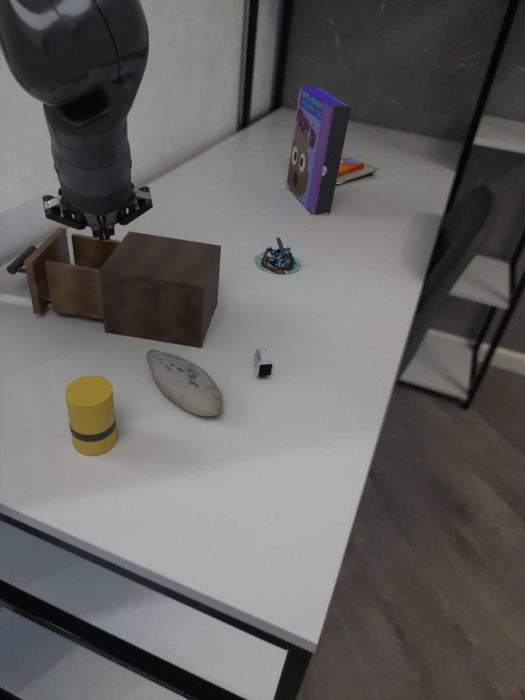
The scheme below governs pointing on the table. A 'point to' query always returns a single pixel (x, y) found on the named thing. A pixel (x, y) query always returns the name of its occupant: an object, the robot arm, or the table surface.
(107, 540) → the table surface
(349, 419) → the table surface
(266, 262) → the dish
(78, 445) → the tape canister
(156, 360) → the decorative stone
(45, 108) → the robot arm
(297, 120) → the cereal box
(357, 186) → the table surface
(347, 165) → the wooden puzzle
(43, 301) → the drawer
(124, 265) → the cabinet
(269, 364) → the smartwatch
